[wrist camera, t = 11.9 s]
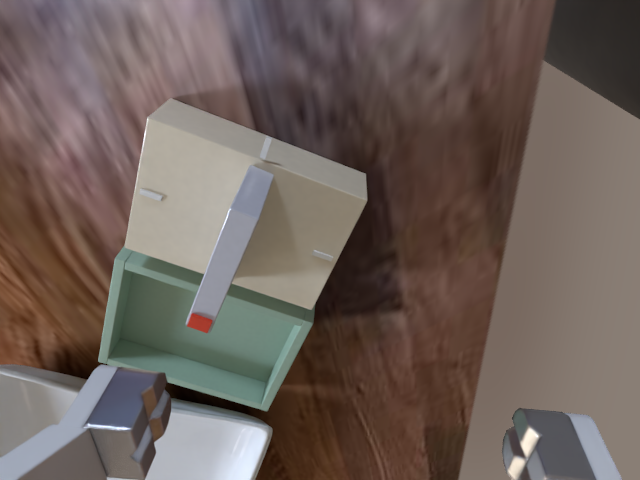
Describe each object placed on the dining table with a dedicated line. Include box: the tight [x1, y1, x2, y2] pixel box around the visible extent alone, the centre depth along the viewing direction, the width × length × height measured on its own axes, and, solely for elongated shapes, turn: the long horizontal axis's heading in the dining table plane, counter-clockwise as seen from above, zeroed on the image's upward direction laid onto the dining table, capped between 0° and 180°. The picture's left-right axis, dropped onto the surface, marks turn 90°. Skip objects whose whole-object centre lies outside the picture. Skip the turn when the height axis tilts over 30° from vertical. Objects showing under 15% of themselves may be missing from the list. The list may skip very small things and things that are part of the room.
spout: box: [186, 165, 274, 333], centre depth 28 cm, size 9×2×6 cm, turn 156°
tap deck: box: [125, 98, 367, 310], centre depth 32 cm, size 14×13×4 cm
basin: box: [98, 246, 315, 411], centre depth 39 cm, size 16×12×3 cm
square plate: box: [0, 364, 273, 480], centre depth 50 cm, size 27×27×4 cm
